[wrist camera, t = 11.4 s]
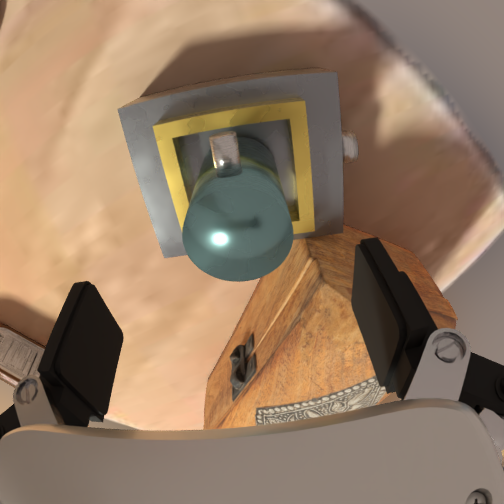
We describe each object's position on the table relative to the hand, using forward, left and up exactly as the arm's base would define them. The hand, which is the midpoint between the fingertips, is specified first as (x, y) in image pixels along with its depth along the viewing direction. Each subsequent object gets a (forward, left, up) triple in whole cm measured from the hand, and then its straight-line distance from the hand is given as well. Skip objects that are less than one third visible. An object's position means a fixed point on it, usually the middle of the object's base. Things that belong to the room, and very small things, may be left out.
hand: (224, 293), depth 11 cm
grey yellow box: (0, 0, -17) cm, 17 cm away
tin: (+21, -37, -17) cm, 46 cm away
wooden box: (+23, +3, -17) cm, 29 cm away
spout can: (0, 0, -12) cm, 12 cm away
